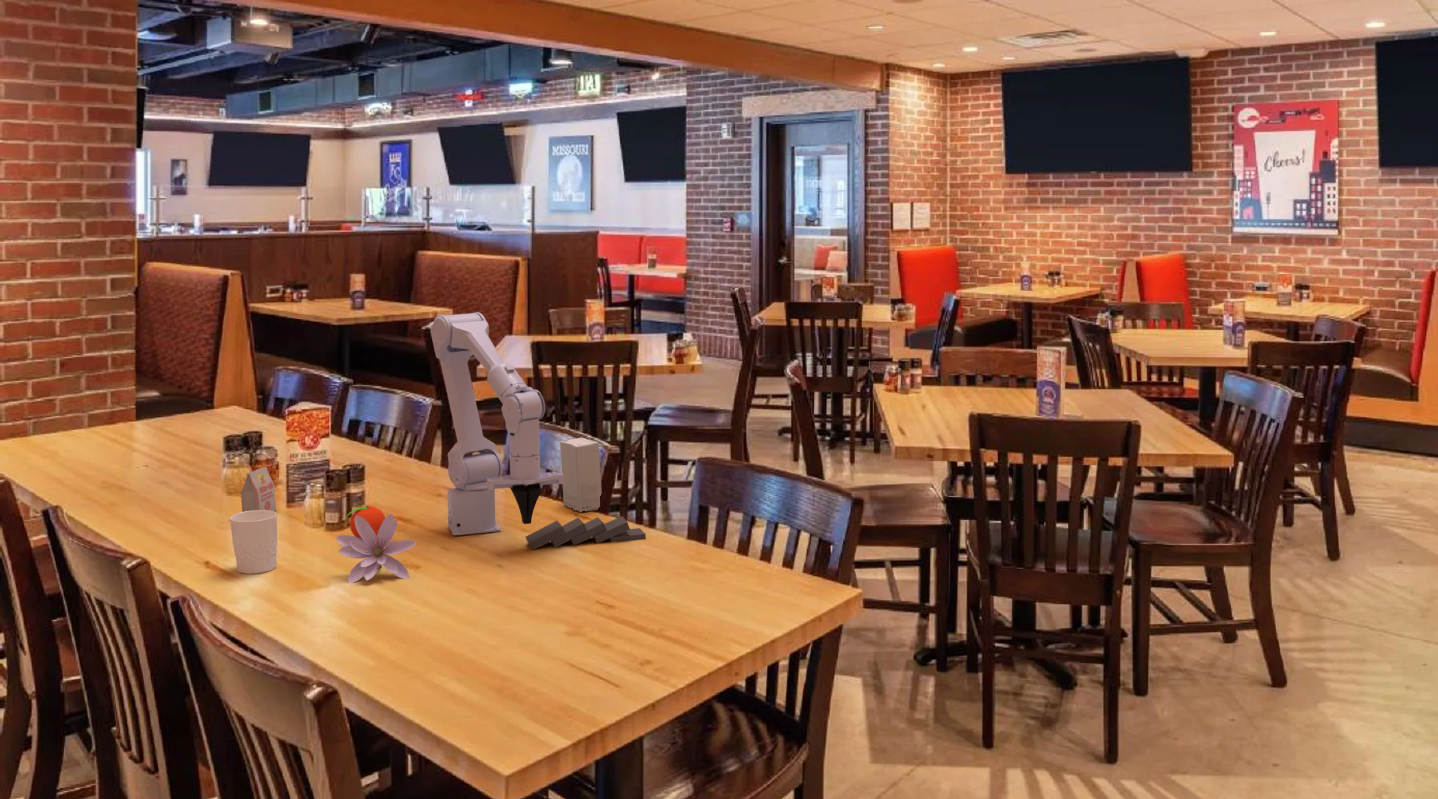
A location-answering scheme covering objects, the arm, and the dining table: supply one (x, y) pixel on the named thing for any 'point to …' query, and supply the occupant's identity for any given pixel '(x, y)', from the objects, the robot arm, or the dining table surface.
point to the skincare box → (581, 474)
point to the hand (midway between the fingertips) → (526, 522)
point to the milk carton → (258, 491)
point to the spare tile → (589, 531)
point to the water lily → (374, 549)
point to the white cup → (255, 540)
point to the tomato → (367, 518)
